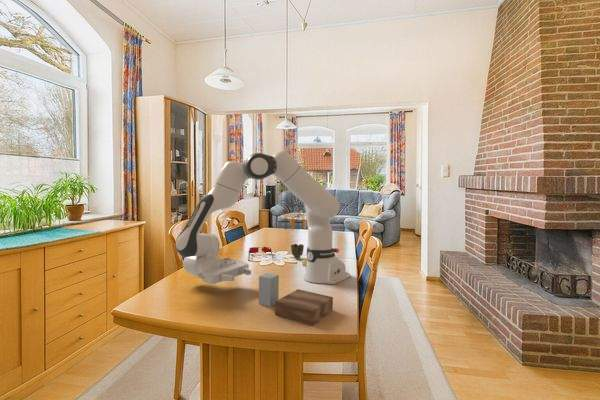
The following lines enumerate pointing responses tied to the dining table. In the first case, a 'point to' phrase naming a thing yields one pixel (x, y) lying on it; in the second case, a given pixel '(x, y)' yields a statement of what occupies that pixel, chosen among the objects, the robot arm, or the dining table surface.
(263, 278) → the slate block
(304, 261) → the bread roll
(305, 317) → the walnut block
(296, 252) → the dark brown tapered lump
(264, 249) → the glasses
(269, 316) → the dining table surface
